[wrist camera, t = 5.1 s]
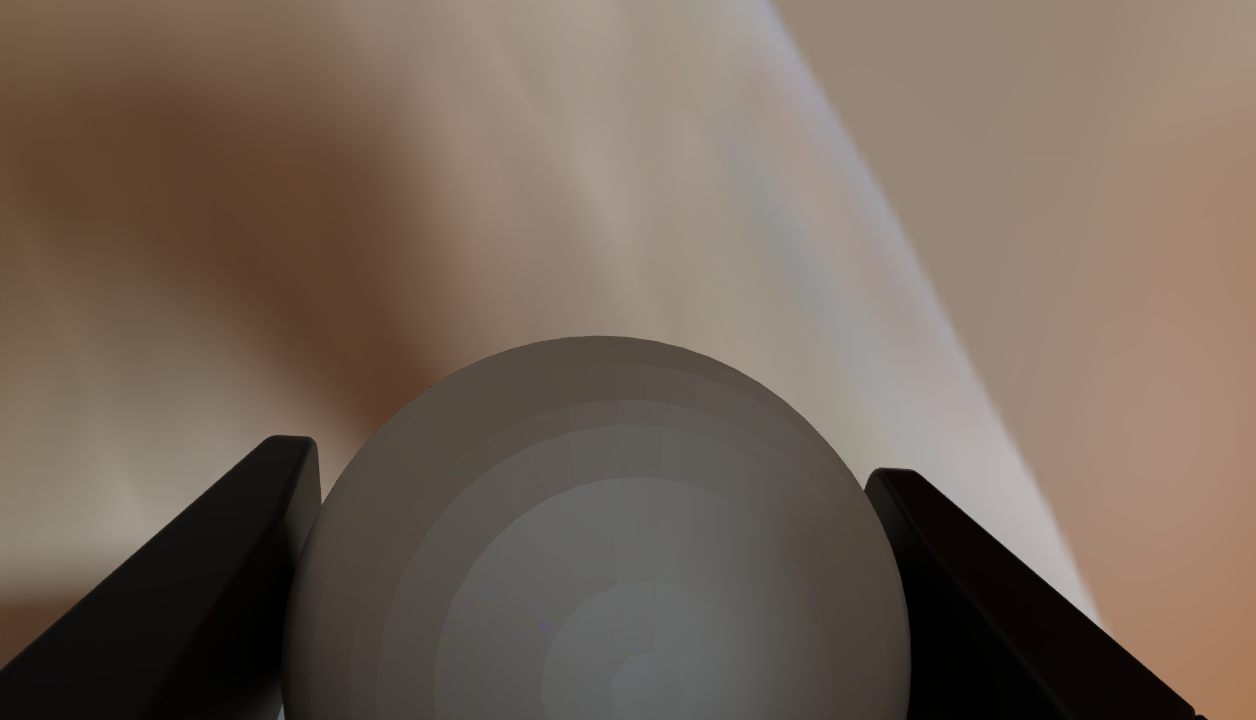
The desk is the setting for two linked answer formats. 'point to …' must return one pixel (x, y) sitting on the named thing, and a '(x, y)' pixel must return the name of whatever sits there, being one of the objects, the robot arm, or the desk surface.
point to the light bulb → (596, 554)
